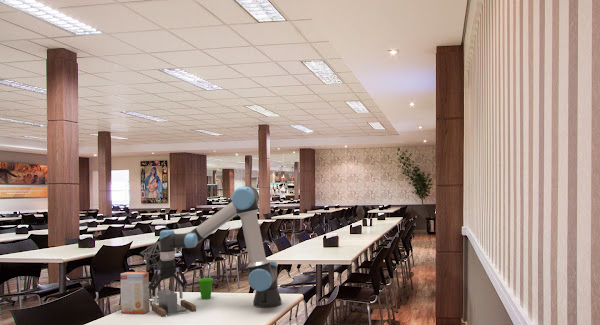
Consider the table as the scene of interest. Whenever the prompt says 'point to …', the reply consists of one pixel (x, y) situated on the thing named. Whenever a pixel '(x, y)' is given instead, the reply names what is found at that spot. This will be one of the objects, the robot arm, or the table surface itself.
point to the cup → (205, 287)
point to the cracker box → (135, 292)
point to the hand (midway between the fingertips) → (168, 300)
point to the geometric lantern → (154, 265)
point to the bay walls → (184, 304)
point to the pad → (178, 313)
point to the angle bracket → (169, 302)
